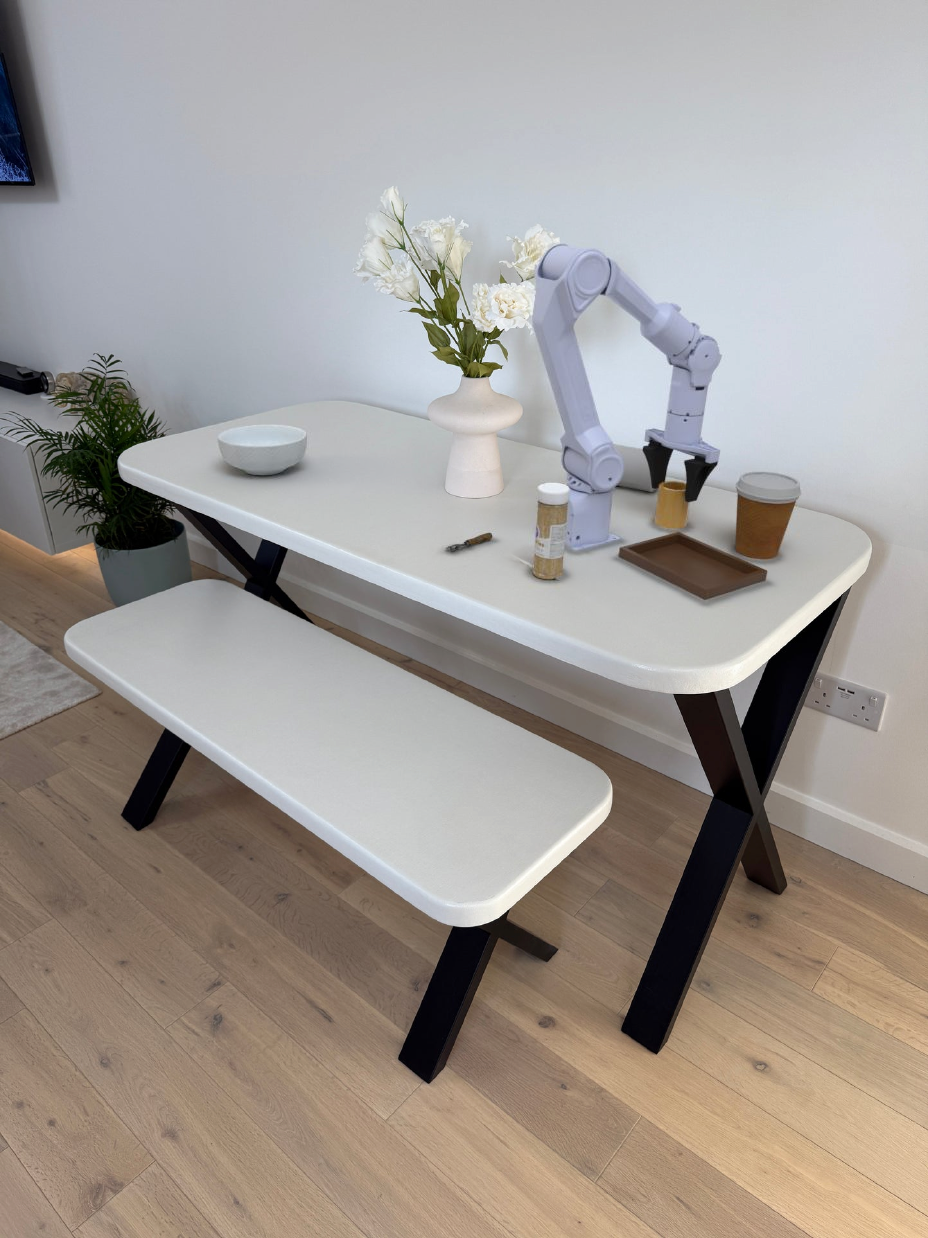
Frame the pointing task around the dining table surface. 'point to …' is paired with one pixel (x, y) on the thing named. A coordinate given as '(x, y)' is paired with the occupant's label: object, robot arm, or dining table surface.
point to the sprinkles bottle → (550, 530)
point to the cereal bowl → (263, 448)
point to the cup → (672, 505)
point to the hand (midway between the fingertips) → (673, 494)
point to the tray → (693, 565)
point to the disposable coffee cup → (763, 512)
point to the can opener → (472, 541)
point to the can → (634, 468)
